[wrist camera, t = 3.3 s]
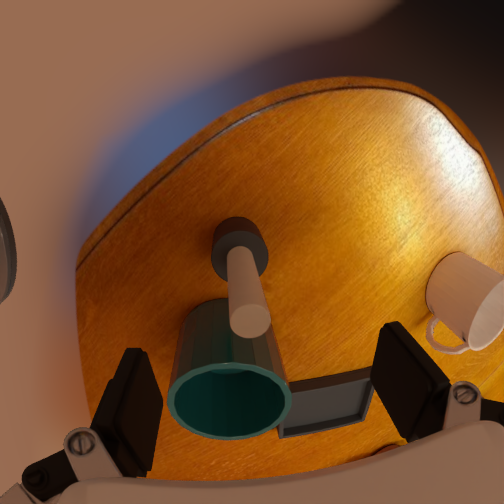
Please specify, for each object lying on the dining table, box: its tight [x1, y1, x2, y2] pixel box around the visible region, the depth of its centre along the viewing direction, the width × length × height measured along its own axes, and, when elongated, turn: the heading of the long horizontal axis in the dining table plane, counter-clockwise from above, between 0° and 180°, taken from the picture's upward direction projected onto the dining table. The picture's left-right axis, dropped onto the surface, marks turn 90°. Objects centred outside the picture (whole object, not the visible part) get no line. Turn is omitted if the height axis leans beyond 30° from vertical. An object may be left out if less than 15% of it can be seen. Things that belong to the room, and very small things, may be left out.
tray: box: [277, 366, 374, 439], centre depth 35 cm, size 13×10×2 cm
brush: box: [211, 217, 271, 338], centre depth 20 cm, size 4×4×14 cm
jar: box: [167, 298, 292, 440], centre depth 26 cm, size 10×10×10 cm
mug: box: [426, 252, 504, 354], centre depth 27 cm, size 12×9×9 cm
